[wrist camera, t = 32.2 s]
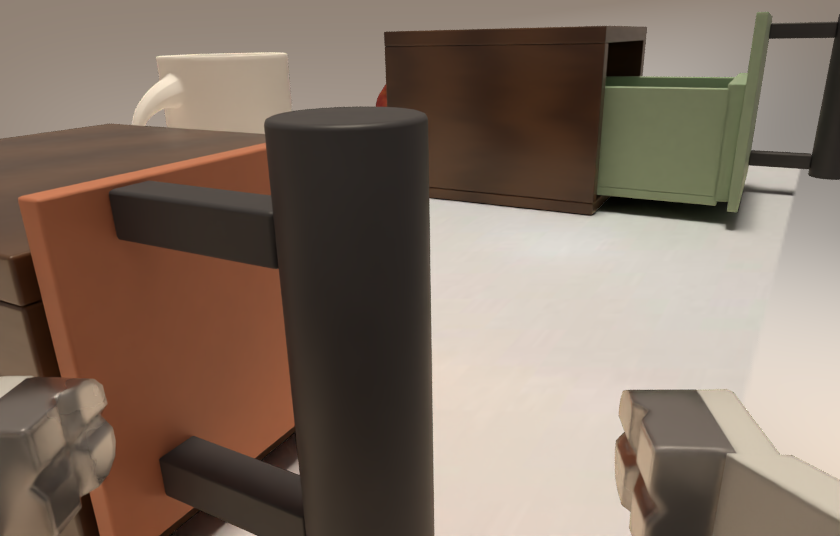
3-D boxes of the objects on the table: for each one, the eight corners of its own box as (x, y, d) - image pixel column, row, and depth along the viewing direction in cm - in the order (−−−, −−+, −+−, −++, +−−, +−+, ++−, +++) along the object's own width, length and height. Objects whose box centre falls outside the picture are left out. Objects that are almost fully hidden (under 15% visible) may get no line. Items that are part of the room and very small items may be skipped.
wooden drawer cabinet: (632, 175, 54) (647, 26, 50) (592, 215, 43) (606, 25, 39) (463, 162, 61) (464, 31, 57) (389, 193, 50) (383, 31, 46)
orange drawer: (587, 357, 22) (610, 71, 18) (378, 706, 10) (342, 135, 7) (150, 265, 32) (116, 68, 28) (-197, 394, 20) (-320, 94, 17)
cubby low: (406, 341, 26) (400, 142, 23) (96, 597, 14) (8, 257, 11) (138, 279, 33) (109, 123, 30) (-211, 415, 21) (-310, 181, 18)
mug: (111, 223, 43) (78, 58, 39) (248, 189, 52) (232, 52, 49) (187, 244, 38) (159, 59, 35) (324, 202, 48) (313, 52, 44)
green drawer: (843, 178, 47) (878, 13, 43) (862, 224, 36) (912, 7, 32) (556, 158, 57) (563, 22, 53) (500, 189, 46) (504, 20, 42)
